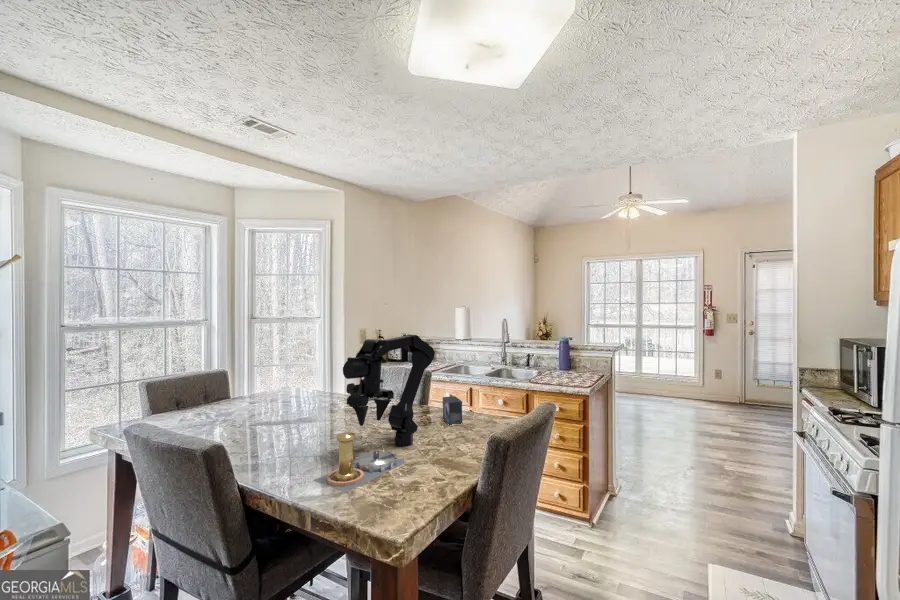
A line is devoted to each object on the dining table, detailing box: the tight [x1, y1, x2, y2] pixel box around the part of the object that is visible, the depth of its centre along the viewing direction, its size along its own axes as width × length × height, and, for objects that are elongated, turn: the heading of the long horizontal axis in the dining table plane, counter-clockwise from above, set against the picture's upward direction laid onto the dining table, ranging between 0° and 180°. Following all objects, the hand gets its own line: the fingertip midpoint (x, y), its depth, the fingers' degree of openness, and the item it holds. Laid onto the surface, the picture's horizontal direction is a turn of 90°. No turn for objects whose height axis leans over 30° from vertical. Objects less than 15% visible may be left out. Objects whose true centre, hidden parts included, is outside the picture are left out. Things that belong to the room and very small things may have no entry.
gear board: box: [313, 458, 407, 493], centre depth 128 cm, size 26×14×2 cm, turn 147°
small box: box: [442, 395, 463, 426], centre depth 185 cm, size 11×6×10 cm, turn 17°
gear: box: [354, 450, 398, 473], centre depth 133 cm, size 13×13×4 cm
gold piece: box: [334, 431, 358, 482], centre depth 122 cm, size 7×7×13 cm
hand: (370, 423), depth 140 cm, fingers open, 9 cm apart
